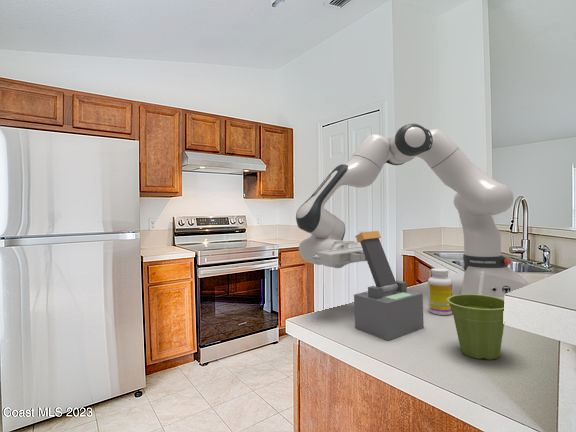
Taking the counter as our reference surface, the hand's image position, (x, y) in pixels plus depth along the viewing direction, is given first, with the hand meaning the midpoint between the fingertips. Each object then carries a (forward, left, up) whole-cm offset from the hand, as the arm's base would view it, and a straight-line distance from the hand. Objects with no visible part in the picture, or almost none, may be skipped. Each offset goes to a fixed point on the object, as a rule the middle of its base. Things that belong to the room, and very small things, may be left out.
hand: (368, 257), depth 91 cm
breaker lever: (-6, +3, -7) cm, 10 cm away
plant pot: (-26, +12, -18) cm, 33 cm away
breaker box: (-6, +3, -18) cm, 19 cm away
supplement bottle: (-18, -15, -18) cm, 29 cm away
